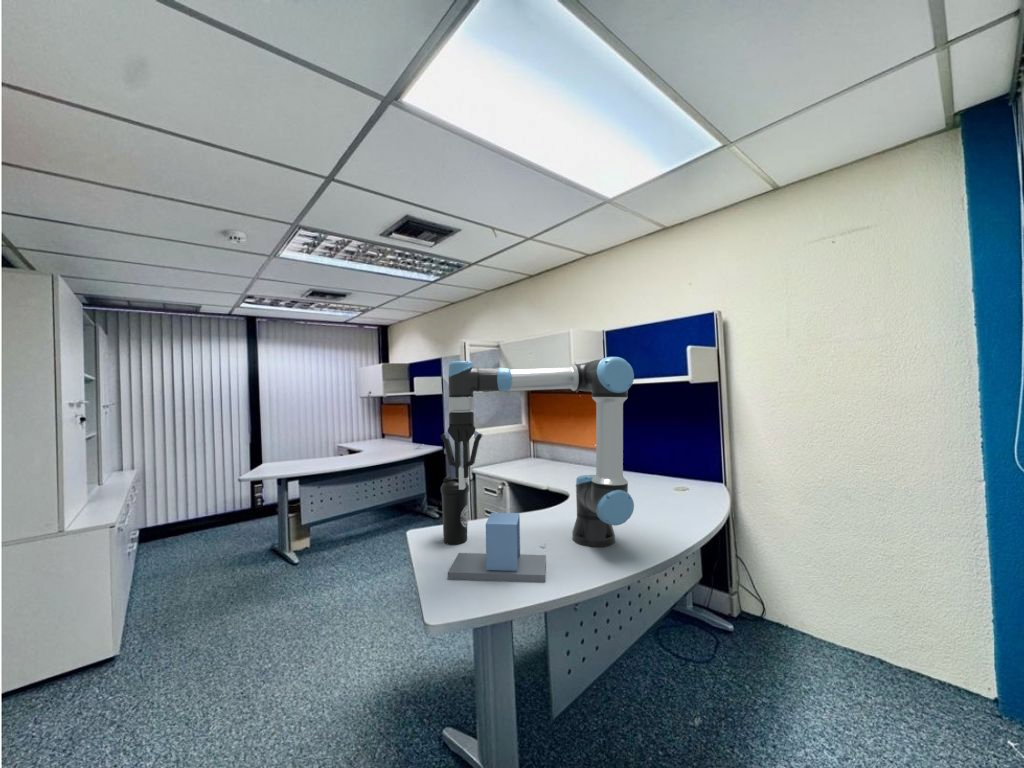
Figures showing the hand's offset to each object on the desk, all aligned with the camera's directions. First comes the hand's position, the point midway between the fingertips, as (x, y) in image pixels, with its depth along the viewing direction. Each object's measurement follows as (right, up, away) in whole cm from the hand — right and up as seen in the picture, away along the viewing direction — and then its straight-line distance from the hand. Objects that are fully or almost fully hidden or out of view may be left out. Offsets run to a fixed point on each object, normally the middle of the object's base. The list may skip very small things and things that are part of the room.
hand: (462, 488), depth 122 cm
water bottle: (-5, -25, +23) cm, 35 cm away
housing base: (+11, -24, -2) cm, 27 cm away
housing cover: (+13, -22, -2) cm, 26 cm away
